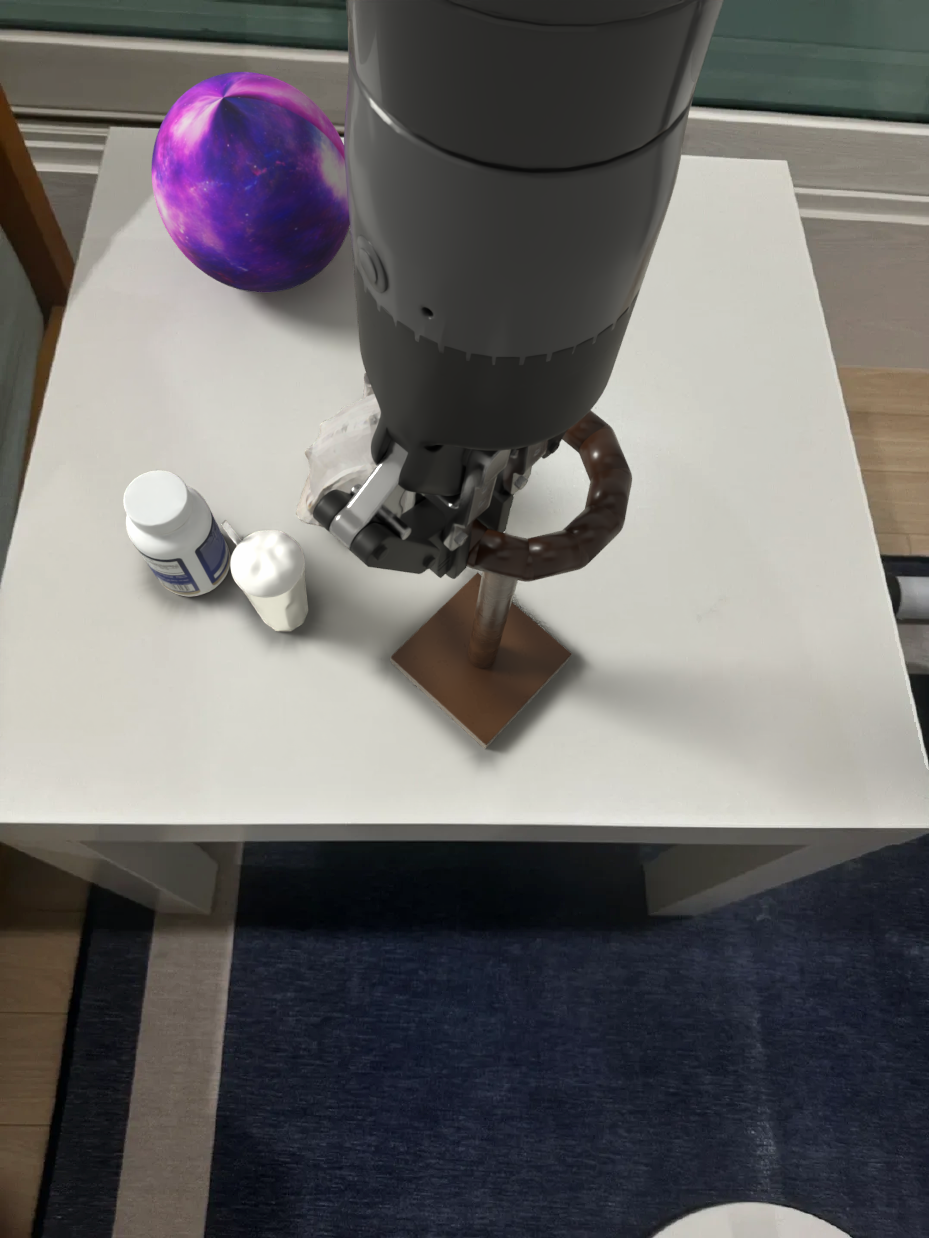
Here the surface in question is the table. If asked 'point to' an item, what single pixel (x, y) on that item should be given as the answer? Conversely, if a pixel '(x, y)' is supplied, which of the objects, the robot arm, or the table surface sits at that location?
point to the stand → (481, 657)
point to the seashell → (341, 453)
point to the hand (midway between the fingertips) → (462, 541)
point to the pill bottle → (175, 533)
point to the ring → (579, 536)
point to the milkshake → (271, 576)
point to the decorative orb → (251, 182)
